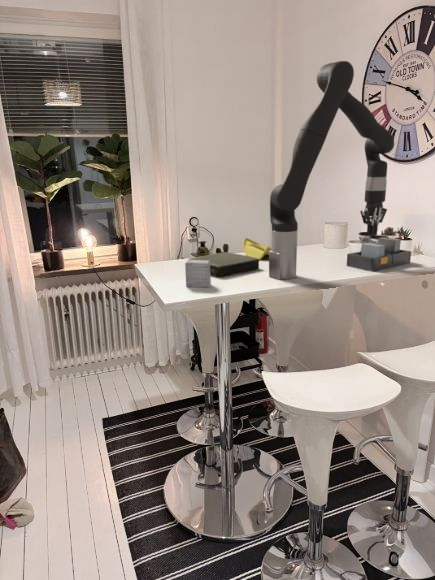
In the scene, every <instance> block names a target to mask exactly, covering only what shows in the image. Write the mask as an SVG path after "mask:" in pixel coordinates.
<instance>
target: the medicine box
mask: <svg viewBox="0 0 435 580" xmlns="http://www.w3.org/2000/svg"><path fill="white" fill-rule="evenodd" d="M184 265H185V268H184V269H185V285H186V286H185V287H186V288H209V287H210V286H211V285H212V281H211V278H212V277H211V274H210V261H202V260H189V261H188V260H187V261H186V262H185V263H184Z"/></svg>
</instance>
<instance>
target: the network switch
mask: <svg viewBox="0 0 435 580" xmlns="http://www.w3.org/2000/svg"><path fill="white" fill-rule="evenodd" d="M189 260H202V261H210V276H213V277H217V278H224V277H229V276H233V275H237V274H242V273H246V272H247V273H249V272H252V271H256V270H259V268H260V260H259V259H258V258H254V257H249V256H247V255H244V254H239V253H233V252H227V251H223V252H216V253H213V254H206V255H202V256H197V257H190V258H189V259H187V261H189Z"/></svg>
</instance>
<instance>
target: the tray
mask: <svg viewBox="0 0 435 580" xmlns="http://www.w3.org/2000/svg"><path fill="white" fill-rule="evenodd" d="M401 241H402V239H400V238H399V239H398V238H391V237H386V236H385V237H378V239H377V244H378V245H384V246H385V250H384V256H381V257H376V258H370V257H365V256H361V252H362V250H361V251H360V250H359V251H355V252H350V253H347V254H346V256H347V257H346V267H351V268H354V269H358V270H364V271H369V272H371V273H372V272H377V271H381V270H386V269H391V268H395V267H399V266H403V265H407V264H411V256H412V251H411V250H406V249H401Z"/></svg>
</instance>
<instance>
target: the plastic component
mask: <svg viewBox="0 0 435 580" xmlns="http://www.w3.org/2000/svg"><path fill="white" fill-rule="evenodd" d="M242 249H243V253H245V256H249V257H254V258H258V259H259V261H260V260H262V259H264V256H267V255H268V256H269V252H270V251H271V247H270V246H265V245H263V244H261V243H259V242H256V241H254V240H251V239H250V238H248V237H244V238H243V244H242Z"/></svg>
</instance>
